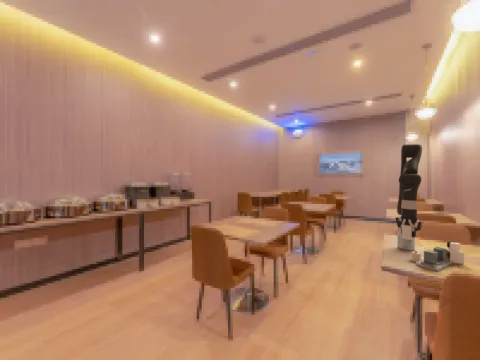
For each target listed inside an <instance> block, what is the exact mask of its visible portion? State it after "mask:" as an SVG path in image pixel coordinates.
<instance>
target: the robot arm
mask: <svg viewBox="0 0 480 360" xmlns="http://www.w3.org/2000/svg"><path fill="white" fill-rule="evenodd" d="M422 153H423V147H422V145H421V144H419V143H415V144H414V143H412V144H411V143H408V144H407V143H406V144H403V145H402V146H401V151H400V172H399V173H400V174H399V178H398V183H399V188H398V189H399V190H398V200H397V206H396V212H397V214H398V215H399V217H395V221H396V226H397V227H398V234H397V244H396V245H397V248H398V249H401V250H405V251H416V249H415V248H416V247H415V245H416V244H415V243H416V241H415V240H416V236H417V232H419V231H420V232H421V229H422V227H423V224H424V221H423V220H419V219H418V191H419V188H420V185H421V182H422V176H421V175H420V174H418V173H419V164H420V160H421V157H422V155H423V154H422ZM407 159H408V160H407ZM405 224H406V225H407V224H408V225H410V226H411V227H412V237H413V238H414V237H415V239H412V240H408V239H404V238H402V225H405ZM416 224H417V225H416ZM413 225H414V226H413Z"/></svg>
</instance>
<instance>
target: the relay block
mask: <svg viewBox="0 0 480 360" xmlns="http://www.w3.org/2000/svg"><path fill="white" fill-rule="evenodd" d="M421 254H422V253H421V252H419V251H417V250H411V253H410V256H411V259H410V260H411V261H412V262H415V263H416V262H419V261H422V260H421V258H422V257H421V256H422V255H421Z"/></svg>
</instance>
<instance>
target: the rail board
mask: <svg viewBox="0 0 480 360" xmlns="http://www.w3.org/2000/svg"><path fill="white" fill-rule="evenodd" d="M446 248H447V247H441V246H436V247H433V250H429V249H427V250H426V249H425V250H424V251H423V259H422V260H421V261H419V262H415V265H416V266H418V267H421V268H424V269H427V270H430V271H434V272H439V271H441V270H443V269H446V268H448V267H450V266H453V265H454V264H455V263H454V261H450V260H449V258H446V254H447V249H446Z"/></svg>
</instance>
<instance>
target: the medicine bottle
mask: <svg viewBox="0 0 480 360" xmlns="http://www.w3.org/2000/svg"><path fill="white" fill-rule="evenodd" d="M461 246H462V245H461V243H460V242H457V241H453V240H452V241H447V242H446V247H445V248H446V249H447V254H446V258H449V260H450V261H454V264H459V265H464V264H465V252H464V251H462V250H461Z"/></svg>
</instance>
